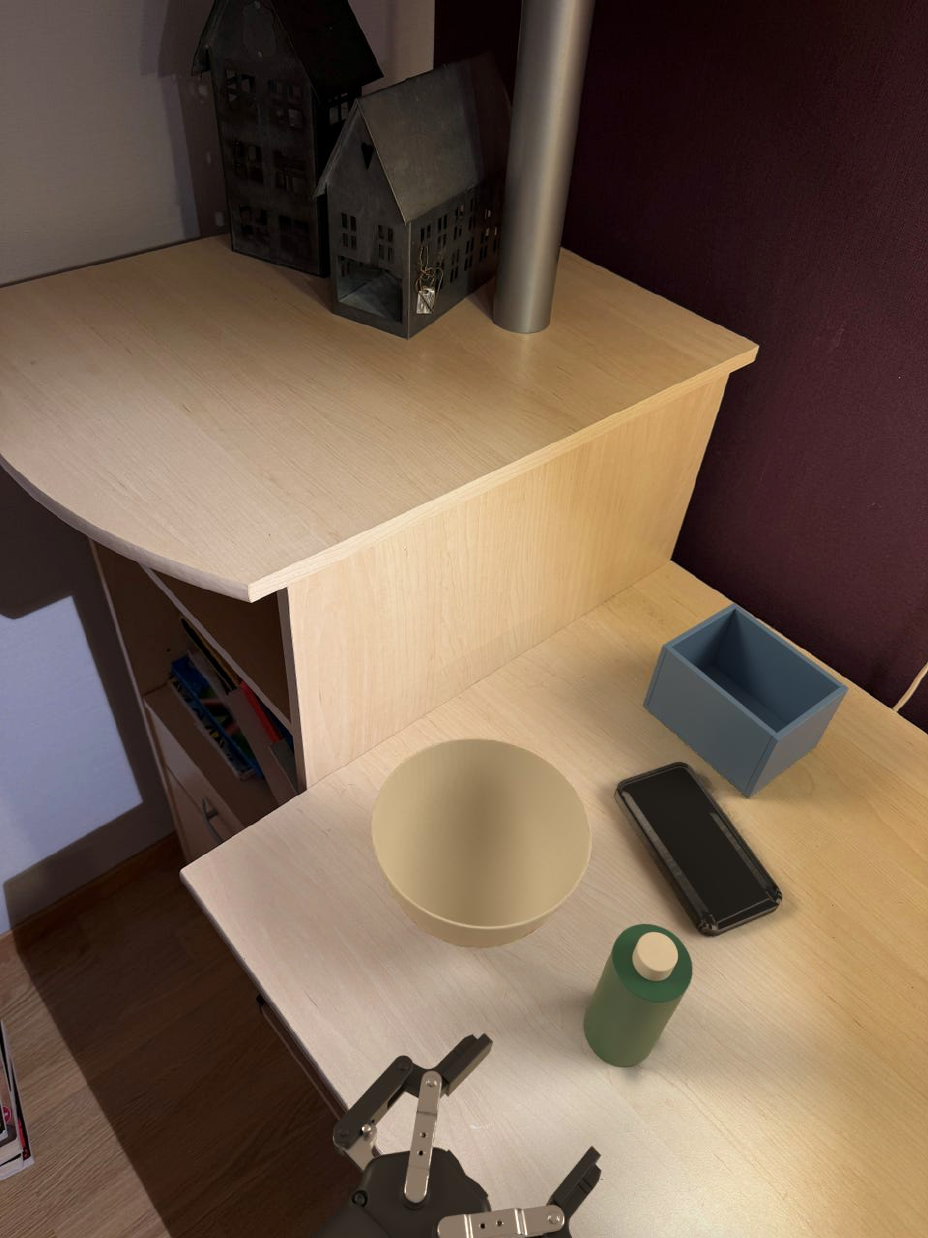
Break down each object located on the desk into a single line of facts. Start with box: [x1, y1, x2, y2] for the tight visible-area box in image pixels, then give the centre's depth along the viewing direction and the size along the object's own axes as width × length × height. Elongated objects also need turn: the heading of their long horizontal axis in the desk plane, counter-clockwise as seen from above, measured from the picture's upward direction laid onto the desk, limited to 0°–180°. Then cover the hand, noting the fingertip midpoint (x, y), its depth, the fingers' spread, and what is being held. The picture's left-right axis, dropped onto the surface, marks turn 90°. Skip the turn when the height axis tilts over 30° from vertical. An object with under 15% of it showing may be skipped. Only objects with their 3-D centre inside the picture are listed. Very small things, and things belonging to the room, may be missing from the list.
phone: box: [614, 761, 784, 938], centre depth 77 cm, size 8×1×15 cm
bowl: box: [370, 736, 593, 949], centre depth 69 cm, size 16×16×10 cm
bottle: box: [583, 923, 694, 1068], centre depth 61 cm, size 5×5×12 cm
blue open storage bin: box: [642, 602, 850, 799], centre depth 84 cm, size 13×10×8 cm
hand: (539, 1095), depth 54 cm, fingers open, 8 cm apart
